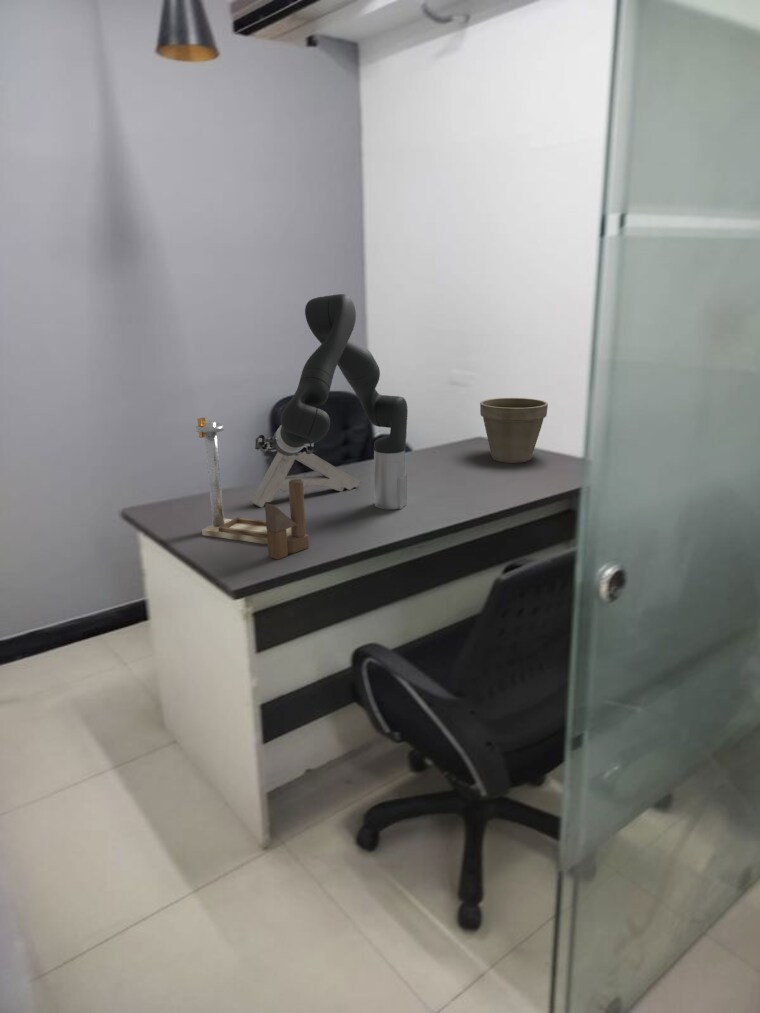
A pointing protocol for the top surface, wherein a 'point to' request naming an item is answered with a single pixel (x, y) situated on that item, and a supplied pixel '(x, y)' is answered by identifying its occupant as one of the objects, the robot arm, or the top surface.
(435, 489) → the top surface
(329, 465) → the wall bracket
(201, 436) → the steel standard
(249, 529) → the seat board
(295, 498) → the wooden block
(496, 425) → the plant pot
